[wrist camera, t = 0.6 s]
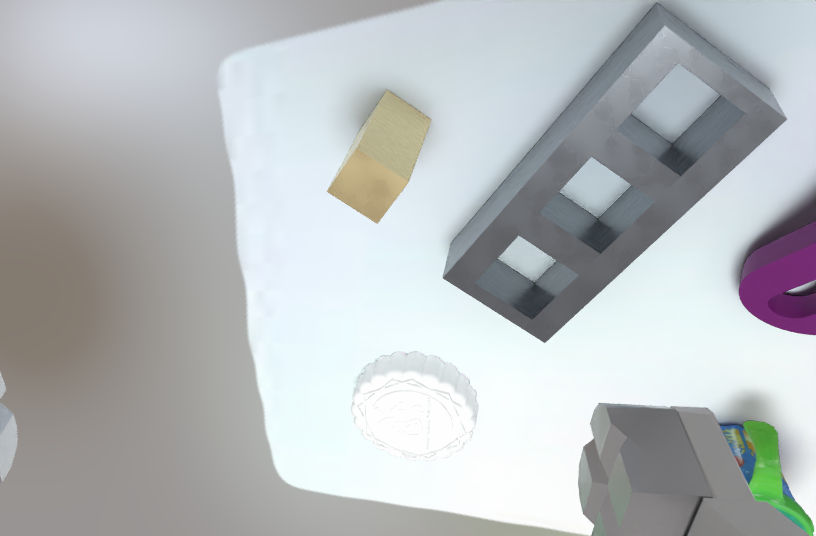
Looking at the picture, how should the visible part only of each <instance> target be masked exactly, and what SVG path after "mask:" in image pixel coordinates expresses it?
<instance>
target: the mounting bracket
mask: <svg viewBox="0 0 816 536" xmlns="http://www.w3.org/2000/svg"><path fill="white" fill-rule="evenodd" d="M814 280H816V221H814V222H812V223H810V224H808V225H806V226H804V227H802V228H800V229H798V230H796V231H793V232H791V233H789V234H787V235H785V236H783V237H781V238H779V239H777V240H775V241H773V242H771V243H769V244H767V245H764V246H762V247H761V248H759V249H757V250H756V251H754V252H753V253H752V254H751V255H750V256H749V257H748V258H747V259H746V261H745V263H744V266H743V271H742V277H741V282H740V287H739V296H740V300H741V302H742V304H743V305H744V307H745V308H746V309H747V310H748V311H749V312H750V313H751V314H753V315H754V316H755V317H757V318H758V319H760V320H762V321H763V322H765V323H767V324H770V325H772V326H774V327H777V328H780V329H783V330H787V331H791V332H795V333H801V334H808V335H816V293H813V294H810V295H807V296H789V295H785V294H783V293H784V292H786V291H789V290H791V289H794V288H796V287H799V286H801V285H804V284H806V283H809V282H811V281H814Z"/></svg>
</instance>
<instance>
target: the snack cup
mask: <svg viewBox="0 0 816 536" xmlns="http://www.w3.org/2000/svg"><path fill="white" fill-rule="evenodd" d="M743 427H744V428H742V427H740V426H739V425H730V426H720V428H721V430H722V432H723V434H724V436H725V438H726V440H727V442H728V444H729V446H730V449H731V451H732V453H733V455H734V457H735V459H736V461H737V463H738V465H739V467H740V469H741V471H742V473H743V475H744V477H745V479H746V481H747V483H748V486H749V488H750V490H751V492H752V494H753V496H754V498H755V500H756V501H764V502H768V503H769V504H771V505H772V506H773V507H774V508H776V509H777V510H778V511H779V512H781V513H782V514H783V515H784V516H786V517H787V518H788V519H790V520H791V521H792V522H793V523H795V524H796V525H797V526H798V527H800V528H801V529H802V530H804V531H805V532H806V533H807V534H809V535H810V536H813V532H814V526H813V523H812V521H811V519H810V517H809V516H808V515H807V514H806V513H805V512H804V510H803V509H802V508H801V507H800V505H799V504H798V503H797V502H796V501H795V499H794V497H793V496H792V494H791V492H790V490H789V487H788V484H787V483H786V481H785V479H784V477H783V475H782V473H781V466H780V459H779V450H778V433H777V431H776V430H775V428H774V427H773V426H771V425H769V424H767V423H765V422H759V421H746V422H744V423H743Z"/></svg>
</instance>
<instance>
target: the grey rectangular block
mask: <svg viewBox="0 0 816 536" xmlns="http://www.w3.org/2000/svg"><path fill="white" fill-rule="evenodd" d="M677 63H679V64H681V65H682V66H683V67H685V68H686V69H687V70H689V71H690V72H691V73H693V74H694V75H695V76H697V77H698V78H699V79H701V80H702V81H703V82H705V83H706V84H707V85H708V86H710V87H711V88H712V89H714V90H715V91H716V92H718V93H719V94H720V95H721V96H720V97H719V98H718V99H717V100H716V101H715V102H714V103H713V104H712V105H711V106H710V107H709V108H708V109H707V110H706V111H705V112H704V113H703V114H702V115H701V116H700V117H699V118H698V119H697V120H696V121H695V122H694V123H693V124H692V125H691V126H690V127H689V128H688V129H687V130H686V131H685V132H684V133H683V134H682V135H681V136H680V137H679V138H678V139H677V140H676V141H675V142H674V143H673V145H672V144H671V143H669V142H668V141H667V140H665V139H664V138H663V137H661V136H660V135H658V134H657V133H656V132H654V131H653V130H652V129H650V128H649V127H647V126H646V125H645V124H643V123H642V122H641V121H639V120H638V119H636V118H635V117H634V116H632V115H631V113H632V112H633V111H634V110H635V109H636V108H637V107H638V105H639V104H640V103H641V102H642V101H643V100H644V99H645V98H646V97H647V96H648V95H649V94H650V92H651V91H652V90H653V89H654V88H655V87H656V86H657V85H658V84H659V83H660V82H661V81H662V79H663V78H664V77H665V76H666V75H667V74H668V73H669V72H670V71H671V70H672V69H673V68H674V66H675V65H676V64H677ZM786 120H787V118H786V116H785V115H784V113H783V111H782V109H781V108H780V106H779V104H778V103H777V101H776V99H775V98H774V96H773V94H772V92H771V91H770V89H769V88H767V87H766V86H765V85H763V84H762V83H761V82H759V81H758V80H757V79H756V78H754V77H753V76H752V75H750V74H749V73H748V72H746V71H745V70H744V69H743V68H741V67H740V66H739V65H737V64H736V63H735V62H733V61H732V60H731V59H730V58H728V57H727V56H726V55H724V54H723V53H722V52H720V51H719V50H718V49H717V48H715V47H714V46H713V45H711V44H710V43H709V42H707V41H706V40H705V39H704V38H702V37H701V36H700V35H698V34H697V33H696V32H694V31H693V30H692V29H691V28H689V27H688V26H687V25H685V24H684V23H683V22H681V21H680V20H679V19H678V18H676V17H675V16H674V15H672V14H671V13H670V12H668V11H667V10H666V9H665V8H663V7H662V6H661V5H659V4H658V3H656V4H655V5H654V6H653V8H652V9H651V10H650V11H649V12H648V13H647V15H646V16H645V17H644V18H643V19H642V20H641V22H640V23H639V24H638V25H637V26H636V27H635V29H634V30H633V31H632V32H631V33H630V34H629V36H628V37H627V38H626V39H625V40H624V41H623V43H622V44H621V45H620V46H619V47H618V48H617V50H616V51H615V52H614V53H613V54H612V55H611V57H610V58H609V59H608V60H607V61H606V62H605V64H604V65H603V66H602V67H601V68H600V69H599V71H598V72H597V73H596V74H595V75H594V77H593V78H592V79H591V80H590V81H589V82H588V84H587V85H586V86H585V87H584V88H583V89H582V91H581V92H580V93H579V94H578V95H577V96H576V98H575V99H574V100H573V101H572V102H571V103H570V105H569V106H568V107H567V108H566V109H565V110H564V112H563V113H562V114H561V115H560V116H559V117H558V119H557V120H556V121H555V122H554V123H553V124H552V126H551V127H550V128H549V129H548V130H547V131H546V133H545V134H544V135H543V136H542V137H541V139H540V140H539V141H538V142H537V143H536V144H535V146H534V147H533V148H532V149H531V150H530V151H529V153H528V154H527V155H526V156H525V157H524V158H523V160H522V161H521V162H520V163H519V164H518V165H517V167H516V168H515V169H514V170H513V171H512V172H511V174H510V175H509V176H508V177H507V178H506V179H505V181H504V182H503V183H502V184H501V185H500V186H499V188H498V189H497V190H496V191H495V192H494V193H493V195H492V196H491V197H490V198H489V199H488V201H487V202H486V203H485V204H484V205H483V206H482V208H481V209H480V210H479V211H478V212H477V213H476V215H475V216H474V217H473V218H472V219H471V220H470V222H469V223H468V224H467V225H466V226H465V227H464V229H463V230H462V231H461V232H460V233H459V234H458V236H457V237H456V238H455V239H454V240H453V241H452V243H451V244H450V249H449V253H448V257H447V261H446V266H445V270H444V274H443V279H445V280H446V281H448V282H450V283H451V284H453V285H454V286H456V287H458V288H459V289H461V290H462V291H464V292H465V293H467V294H469V295H470V296H472V297H473V298H475V299H476V300H478V301H480V302H481V303H483V304H484V305H486V306H487V307H489V308H491V309H492V310H494V311H495V312H497V313H498V314H500V315H502V316H503V317H505V318H506V319H508V320H510V321H511V322H513V323H514V324H516V325H517V326H519V327H521V328H522V329H524V330H525V331H527V332H528V333H530V334H532V335H533V336H535V337H536V338H538V339H539V340H541V341H543V342H544V343H545V342H546V341H548V340H549V339H550V338H551V337H552V336H553V335H554V334H555V333H556V332H557V331H558V330H559V329H561V328H562V327H563V326H564V325H565V324H566V323H567V322H568V321H569V320H570V319H571V318H572V317H574V316H575V315H576V314H577V313H578V312H579V311H580V310H581V309H582V308H583V307H584V306H585V305H587V304H588V303H589V302H590V301H591V300H592V299H593V298H594V297H595V296H596V295H597V294H598V293H600V292H601V291H602V290H603V289H604V288H605V287H606V286H607V285H608V284H609V283H610V282H611V281H613V280H614V279H615V278H616V277H617V276H618V275H619V274H620V273H621V272H622V271H623V270H624V269H625V268H627V267H628V266H629V265H630V264H631V263H632V262H633V261H634V260H635V259H636V258H637V257H638V256H640V255H641V254H642V253H643V252H644V251H645V250H646V249H647V248H648V247H649V246H650V245H651V244H653V243H654V242H655V241H656V240H657V239H658V238H659V237H660V236H661V235H662V234H663V233H664V232H666V231H667V230H668V229H669V228H670V227H671V226H672V225H673V224H674V223H675V222H676V221H677V220H679V219H680V218H681V217H682V216H683V215H684V214H685V213H686V212H687V211H688V210H689V209H690V208H692V207H693V206H694V205H695V204H696V203H697V202H698V201H699V200H700V199H701V198H702V197H703V196H705V195H706V194H707V193H708V192H709V191H710V190H711V189H712V188H713V187H714V186H715V185H716V184H718V183H719V182H720V181H721V180H722V179H723V178H724V177H725V176H726V175H727V174H728V173H729V172H731V171H732V170H733V169H734V168H735V167H736V166H737V165H738V164H739V163H740V162H741V161H742V160H744V159H745V158H746V157H747V156H748V155H749V154H750V153H751V152H752V151H753V150H754V149H755V148H756V147H758V146H759V145H760V144H761V143H762V142H763V141H764V140H765V139H766V138H767V137H768V136H769V135H771V134H772V133H773V132H774V131H775V130H776V129H777V128H778V127H779V126H780V125H781V124H782V123H784V122H785V121H786ZM591 156H592V157H593V158H594V159H596V160H597V161H599V162H600V163H601V164H603V165H604V166H606V167H607V168H609V169H610V170H611V171H613V172H614V173H616V174H617V175H619V176H620V177H621V178H623V179H624V180H626V181H627V182H628V183H630V184H631V185H632V186H631V187H630V188H629V189H628V190H627V191H626V192H625V193H624V194H623V195H622V196H621V197H620V198H619V199H618V200H617V201H616V202H615V203H614V204H613V205H612V206H611V207H610V208H609V209H608V210H607V211H606V212H605V213H604V214H603V215H602V216H601V217H600V218H599V219H597V218H596V217H594V216H593V215H591V214H590V213H588V212H587V211H586V210H584V209H583V208H581V207H580V206H578V205H577V204H575V203H574V202H572V201H571V200H570V199H568V198H567V197H565V196H564V195H562V194H561V193H559V191H560V190H561V189H562V188H563V187H564V186H565V185H566V183H567V182H568V181H569V180H570V179H571V178H572V177H573V176H574V175H575V174H576V173H577V172H578V170H579V169H580V168H581V167H582V166H583V165H584V164H585V163H586V162H587V161H588V160H589V159H590V157H591ZM518 235H519V236H521V237H522V238H524V239H525V240H527V241H528V242H530V243H531V244H533V245H534V246H536V247H537V248H539V249H540V250H542V251H543V252H545V253H546V254H548V255H549V256H551V257H552V258H554V259H556V260H557V261H556V262H555V263H554V264H553V265H552V266H551V267H550V268H549V269H548V270H547V271H546V272H545V273H544V274H543V275H542V276H541V277H540V278H539V279H538V280H537V281H536V282H535V283H533V282H532V281H530V280H529V279H527V278H526V277H524V276H523V275H521V274H520V273H518V272H516V271H515V270H513V269H512V268H510V267H509V266H507V265H506V264H504V263H503V262H501V261H500V260H498V259H497V258H498V257H499V256H500V255H501V254H502V253H503V252H504V251H505V250H506V248H507V247H508V246H509V245H510V244H511V243H512V242H513V241H514V240H515V239H516V238H517V237H518Z"/></svg>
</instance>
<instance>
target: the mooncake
mask: <svg viewBox="0 0 816 536" xmlns="http://www.w3.org/2000/svg"><path fill="white" fill-rule="evenodd" d="M469 384H470V381H469V378H468V377H467V376H466V375H464V374H462V373H459V371H458V368H457V367H456V366H455V365H453V364H451V363H444V362H443V360H442V359H441V358H439V357H437V356H434V355H430V356H426V355H424V354H423V353H421V352H411V353H409V354H407V353H404V352H395V353H393V354H392V355H391V357H390V356H381V357H379V358H378V359H377V361H376V363H371V364H368V365H367V366H366V368H365V371H364V373H363V374H361V375H360V377H359V379H358V382H357V385H356V388H355V391H354V394H353V403H352V406H351V412H352V414H353V415H354V416H355V418H354V423H355V425H356V426H357V427H358V428H359V429H361V430H362V435H363V436H364V438H366V439H367V440H369V441H373V444H374V445H375V446H376V447H377V448H378V449H380V450H387V451H388V452H389V453H390V454H391V455H393V456H395V457H401V456H404V457H405V458H407V459H408V460H413V461H415V460H419V459H423V460H426V461H432V460H435V459H436V458H437V457H439V458H447V457H449V456H450V455H451V454H452V452H457V451H460V450H462V449H463V447H464V443H466V442H468V441H470V440H471V438H472V433H473V429H474V428H475V425H476V418H477V410H478V403H477V401H476V390H475V389H474V388H473V387H472V386H470V385H469Z"/></svg>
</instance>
